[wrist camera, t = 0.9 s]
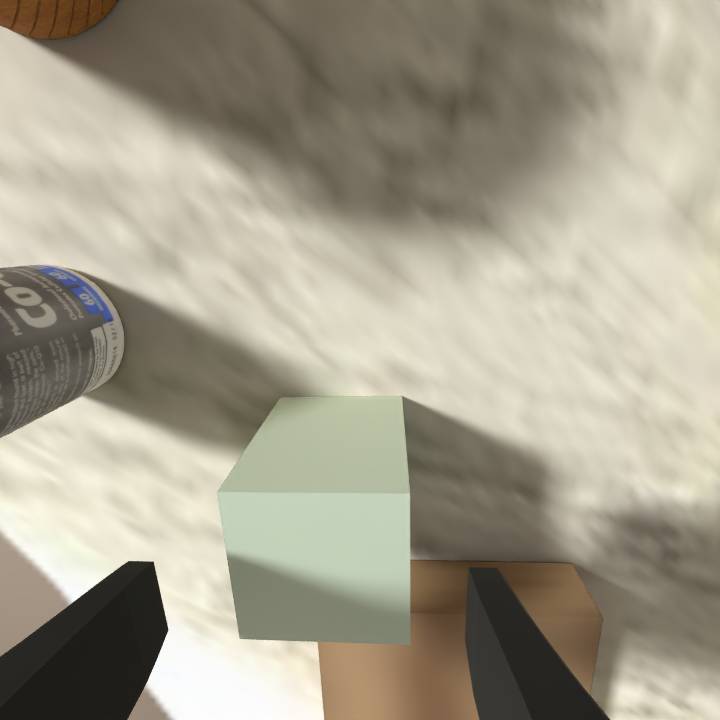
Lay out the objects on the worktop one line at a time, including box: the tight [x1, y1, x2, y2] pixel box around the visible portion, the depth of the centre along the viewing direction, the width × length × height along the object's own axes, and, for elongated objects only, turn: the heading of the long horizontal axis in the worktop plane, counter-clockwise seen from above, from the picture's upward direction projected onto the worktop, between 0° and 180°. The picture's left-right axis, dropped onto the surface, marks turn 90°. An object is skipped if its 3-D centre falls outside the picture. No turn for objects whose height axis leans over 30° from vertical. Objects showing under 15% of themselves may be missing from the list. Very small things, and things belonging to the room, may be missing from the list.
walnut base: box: [318, 560, 603, 720], centre depth 17 cm, size 10×10×2 cm
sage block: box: [217, 396, 410, 645], centre depth 13 cm, size 4×4×6 cm
